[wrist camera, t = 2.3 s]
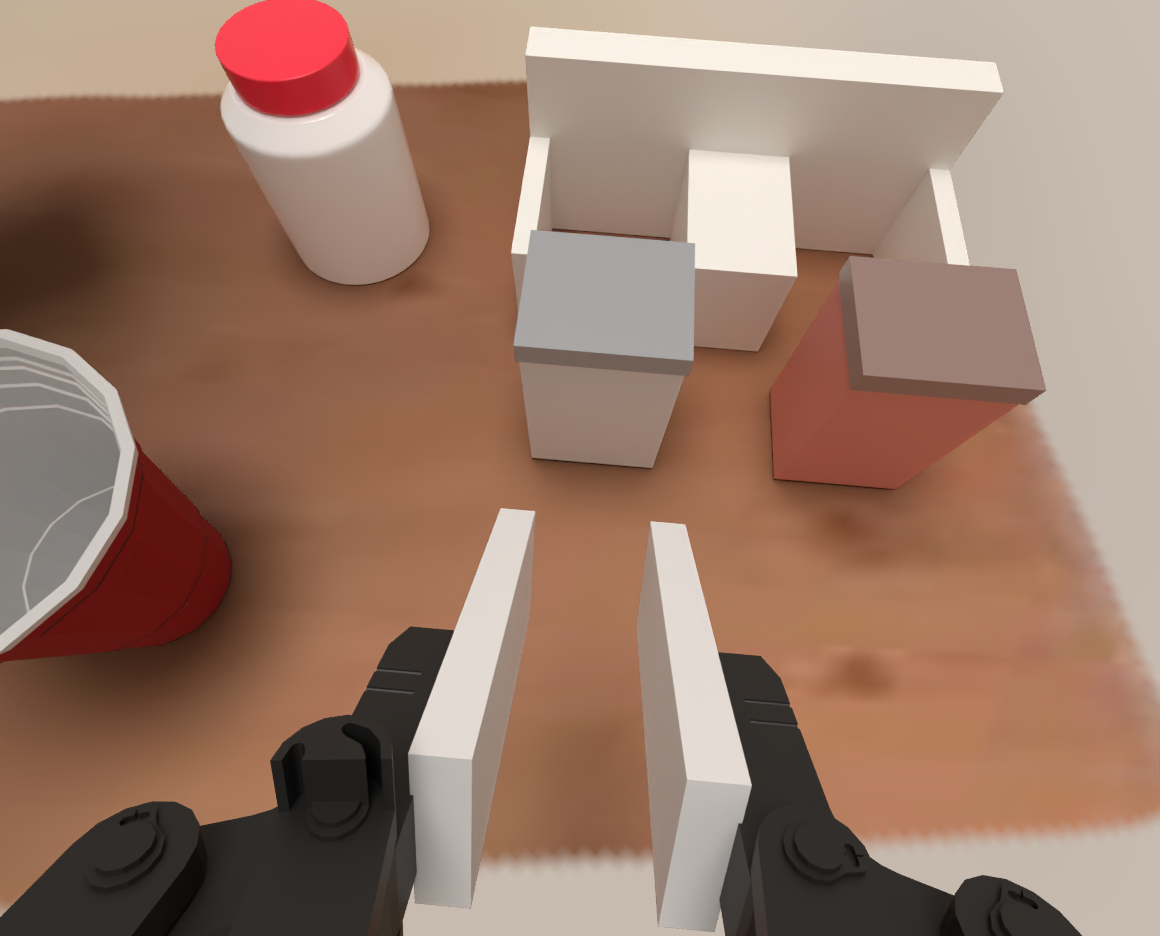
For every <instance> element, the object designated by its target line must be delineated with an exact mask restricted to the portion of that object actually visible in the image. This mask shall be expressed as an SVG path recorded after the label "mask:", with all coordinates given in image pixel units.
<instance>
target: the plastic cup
mask: <svg viewBox="0 0 1160 936" xmlns="http://www.w3.org/2000/svg"><path fill="white" fill-rule="evenodd" d="M230 570H231V559H230V556H229V553H228V550H227V547H226V544H225V542H224V541H223V539H222V536H221V534H220V533H219V532H218V531H216V530H215V529H214V528H213V527H212V526H211V525H210V524H209V523H208V522H207V521H206V520H205V519H204V518H203V517H202V516H201V515H200V513H199V510H198V509H197V508H196V507H195V506H194V505H193V504H192V503H191V502H190V500H189V499H188V498H187V497H186V496H185V495H184V494H183V493H182V492H181V491H180V490H179V489H178V488H177V487H176V486H175V485H174V484H173V483H172V482H171V481H170V480H169V479H168V478H167V477H166V476H165V475H164V474H163V472H162V471H161V470H160V469H159V468H158V467H157V466H156V465H155V464H154V463H153V462H152V461H151V460H150V459H149V458H148V457H147V456H146V455H145V454H144V453H143V452H142V450H141V446H140V444H139V443H138V442H137V441H136V440H135V439H134V438H133V435H132V432H131V429H130V426H129V422H128V419H127V416H126V413H125V410H124V407H123V404H122V401H121V398H120V396H119V394H118V392H117V390H116V389H115V388H114V387H113V386H112V385H111V384H110V383H109V382H108V381H106V380H105V379H104V378H103V377H102V376H101V375H100V374H99V373H98V372H97V371H95V370H94V369H93V368H92V367H91V366H90V365H89V364H88V363H87V362H86V361H84V360H83V359H82V358H81V357H80V356H79V355H78V354H77V353H76V352H75V351H73V350H72V349H69V348H66V347H63V346H60V345H57V344H53V343H50V342H47V341H44V340H41V339H37V338H34V337H31V336H28V335H25V334H22V333H18V332H15V331H12V330H9V329H0V663H2V662H4V661H12V660H23V659H34V658H46V657H57V656H68V655H79V654H89V653H99V652H108V651H118V650H120V649H128V648H139V647H148V646H158V645H162V644H164V643H167V642H171V641H174V640H176V639H178V638H180V637H182V636H184V635H186V634H188V633H190V632H192V631H194V630H196V629H197V628H198V627H199V626H200V625H201V624H202V623H203V622H204V621H205V620H206V619H207V618H208V617H209V616H210V615H211V614H213V613H214V612H215V611H216V609H217V607H218V606H219V604H220V602H221V600H222V598H223V596H224V594H225V592H226V590H227V588H228V586H229V579H230Z"/></svg>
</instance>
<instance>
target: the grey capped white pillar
mask: <svg viewBox="0 0 1160 936" xmlns="http://www.w3.org/2000/svg"><path fill="white" fill-rule="evenodd" d="M694 293H695V243H686V242H674V241H662V240H649V239H637V238H625V237H613V236H601V235H588V234H576V233H564V232H552V231H539V230H531V233H530V239H529V246H528V252H527V259H526V266H525V272H524V279H523V285H522V292H521V299H520V305H519V312H518V319H517V325H516V332H515V338H514V345H513V346H514V354H515V361H516V362H519V365H520V373H521V380H522V388H523V396H524V403H525V411H526V419H527V426H528V434H529V442H530V449H531V457H532V458H542V459H553V460H565V461H576V462H588V463H599V464H611V465H623V466H634V467H646V468H653V465H654V462H655V459H656V457H657V454H658V451H659V448H660V445H661V442H662V439H663V436H664V434H665V431H666V428H667V425H668V422H669V419H670V416H671V413H672V411H673V408H674V405H675V402H676V399H677V396H678V393H679V390H680V388H681V385H682V382H683V379H684V376H688V375H689V372H690V370H691V367H692V364H693V361H694Z"/></svg>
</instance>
